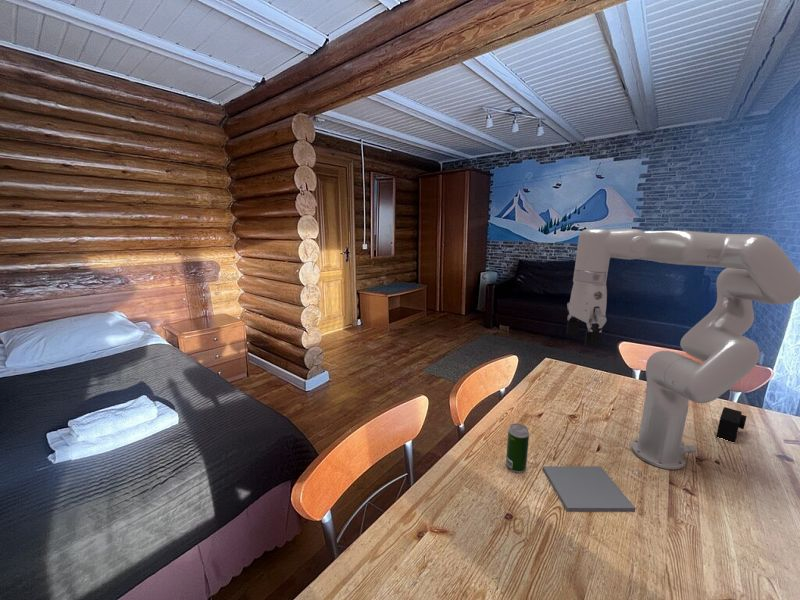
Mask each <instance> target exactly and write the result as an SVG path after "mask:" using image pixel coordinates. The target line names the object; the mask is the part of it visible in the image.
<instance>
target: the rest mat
mask: <svg viewBox="0 0 800 600" xmlns="http://www.w3.org/2000/svg"><path fill="white" fill-rule="evenodd" d="M542 472H543V473H544V475H545V476H546V478H547V480H548V481H549V483H550V485H551V487H552V488H553V490H554V492H555V493H556V496H557V497H558V499H559V501H560V503H562V505H563V507H564V509H565V510H566V512H576V513H577V512H581V513H582V512H587V513H588V512H594V513H595V512H598V513H599V512H606V513H607V512H609V513H610V512H612V513H614V512H617V513H618V512H619V513H620V512H623V513H625V512H626V513H630V512H636V507H635V505H633V503H632V501H630V499H629V498H628V497H627V496H626V495H625V494H624V492H623V491H622V490H621V489H620V487H619V486H618V485H617V484H616V483H615V482H614V480H613V479H612V478H611V477H610V475H609V474H608V473H607V472H606V471H605V470H604V468H603V467H602V466H599V465H598V466H594V465H593V466H589V465H587V466H585V465H584V466H581V465H579V466H575V465H574V466H573V465H572V466H571V465H568V466H567V465H566V466H563V465H562V466H561V465H560V466H557V465H556V466H554V465H551V466H550V465H548V466H547V465H545V466H543V465H542Z"/></svg>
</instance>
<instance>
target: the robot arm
mask: <svg viewBox="0 0 800 600" xmlns="http://www.w3.org/2000/svg"><path fill="white" fill-rule="evenodd" d="M611 258H614V259H621V260H636V259H637V260H646V261H652V262H656V263H660V264H661V263H662V264H670V265H672V264H673V265H682V266H698V267H699V266H700V267H712V268H713V267H715V268H724V269H723V270H721V272H720V273H719V274H718V276H717V278H716V282H715V283H716V284H715V285H716V292H717V293H716V296H717V297H716V302H715V305H714V307H713V308H712V310H711V311H709V312H708V314H706V315H705V316H704V317H703V318H702V319H701V320H699V321H698V322H697V323H696V324H695V325H694V326H693V327H691V328H690V329H689V330H688V331H687V332H686V333H685V334H684V335H683V336H682V338H681V340H680V342H679V344H680V348H681V350H682V351H683V352H684V353H686V354H687V355H689V356H690V357H693V358H695V359H697V360H699V361H702V363H700V362H698V361H696V360H694V359H692V358H689V357H688V356H685V355H683V354H680V353H677V352H674V351H670V350H660V351H656V352H654V353H652V354H651V355H650V356H649V358H648V359H647V361H646V364H645V366H646V367H645V378H646V389H645V398H644V404H643V409H642V417H641V422H640V429H639V434H638V438H637V439H634V440H632V442H631V444H630V449H631V451H632V453H634V454H635V455H636V457H637V458H639V459H640V460H641V461H644V462H646V463H647V464H649V465H652V466H654V467H657V468H662V469H665V470H681V469H683V468H684V467H685V466H686V459H685V457H684V456H683V455H686V454H687V453H688V454H696V453H697V452H698V451H697V448H696V447H695V446H694V445H685V443H684V442H683V436H684V430H685V425H686V420H687V415H688V411H689V401H691V402H694V403H698V404H707V403H710V402H713V401H715V400H717V399H719V397H722V395H724V394H725V393H726V392H727V391H729V390H730V389H731V388H732V387H734V385H736V384H737V383H739V381H742V379H743V378H744V377H746V376H747V375H748V374H749V373H750V372H751V371H752V370H754V369H755V367H756V365H757V363H758V362H759V360H760V353H761V351H760V348H759V346H758V345H757V343H756V342H755V341H754V340H753V339H751V338H748V337H747V336H744V334H745V333H746V332H747V331H748V330H749V329H750V328H751V327H752V326H753V323H754V321H755V312H754V306H753V301H754V302H758V303H763V304H767V305H768V304H769V305H774V306H777V305H778V306H780V305H781V306H782V305H788V304H791V303H794V302H795V301H796V300H798V299H799V298H800V271H798V269H797V267H796V266H795V264H794V263H793V262H792V261H791V259H790V258H789V256H788V255H787V253H786V252H785V251H784V249H782V248H781V246H780V245H779V244H778V243H777V242H775V240H773V239H772V238H770V237H768V236H767V235H763V234H755V233H754V234H752V233H751V234H750V233H749V234H748V233H747V234H746V233H742V234H741V233H740V234H739V233H722V232H721V233H719V232H717V233H716V232H706V231H705V232H704V231H703V232H702V231H692V230H659V231H657V230H656V231H655V230H653V231H648V230H647V231H646V230H644V231H643V230H642V229H637V228H609V229H604V228H603V229H602V228H587V229H585V228H584V229H583V230H581V231H580V233H579V234H578V241H577V248H576V256H575V265H574V271H573V278H572V282H573V283H572V284H573V285H572V288H571V293H570V299H569V302H567V304H566V306H567V312H566V313H567V317H566V319H567V324H566V329H565V330H566V331H565V333H566V335H568V336H578V335H579V332H580V324H581V321H582V322H584V323H586V328H587V330H586V331H585V338H584V345H583V346H585V347H591V348H597V347H598V346H599V342H600V334H601V333H602V330H603V329H604V328H605V324H606V323H607V316H606V312H607V303H608V302H607V301H608V300H607V299H608V298H607V297H608V289H607V279H608V273H609V272H608V271H609V265H610V261H611V260H610V259H611Z"/></svg>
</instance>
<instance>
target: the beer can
mask: <svg viewBox="0 0 800 600" xmlns="http://www.w3.org/2000/svg"><path fill="white" fill-rule="evenodd" d="M507 431H508V432H507V444H506V458H505V459H506V460H505V463H506V464H505V465H506V467H507V469H508V470H509V471H511V472H514V473H515V474H516V473H517V474H522V473H524V472H525V470H526V469H527V464H528V463H527V462H528V451H529V442H530V441H529V440H530V432H529V431H530V430H529V428H528V427H527V426H526V425H524V424H521V423H518V422H517V423H511V424H510V425H509V428H508V430H507Z"/></svg>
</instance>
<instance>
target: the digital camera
mask: <svg viewBox="0 0 800 600" xmlns="http://www.w3.org/2000/svg"><path fill="white" fill-rule="evenodd" d="M746 422H747V415H745V414H743V412H742V411H739V410H737V409H734V408H729V407H726V406H724V407H723V408H722V412H721V414H720V417H719V420H718V426H717V432H716V436H717V437H719V438H723V439H725V440H728V441H731V442H735V443H736V440H737V435H738V431H739V429H741V430H745V426H746ZM719 438H718V439H719ZM725 440H724V441H725ZM728 441H727V442H728ZM731 442H730V443H731Z"/></svg>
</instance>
